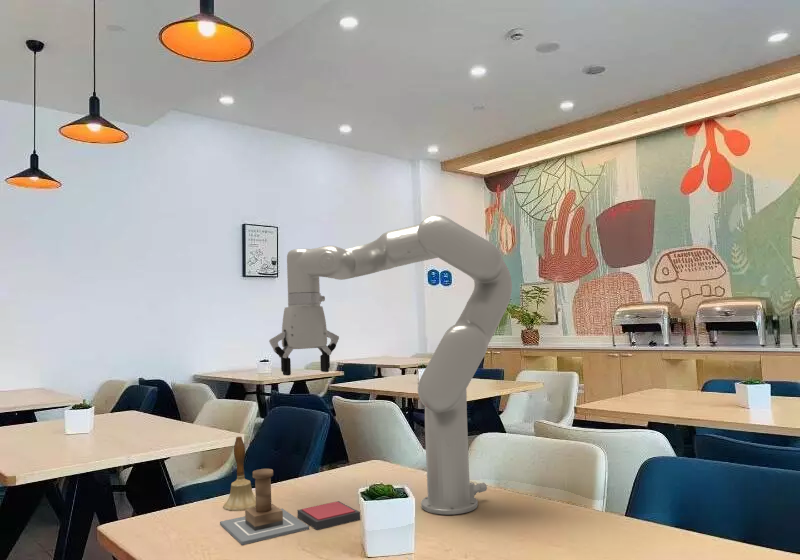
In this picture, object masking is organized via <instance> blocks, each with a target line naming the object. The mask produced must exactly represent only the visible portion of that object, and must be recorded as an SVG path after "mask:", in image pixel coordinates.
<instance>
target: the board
mask: <svg viewBox="0 0 800 560" xmlns="http://www.w3.org/2000/svg"><path fill="white" fill-rule="evenodd" d="M280 509H281V510H282V511H283V525H278V526H274V527H269V528H265V529H261V530H256V531H254V530H253V529H252V528H251V527H250V526H248V525H247V524H246V523H245V516H240V517H235V518H231V519H226V520H220V521H219V525H220V526H221V527H222V528H223V529H224V530H225V531H226V532H227V533H229V535H230V536H232V537H233V539H235V540H236V541H237V542H238V543H239V544H240V545H241V546H244V545H248V544H252V543H253V544H254V543H257V542H261V541H265V540H269V539H274V538H278V537H283V536H286V535H290V534H294V533H299V532H302V531H308V530H310V525H308V524H307V523H305V522H304V521H302V520H301V519H299V518H298V517H296V516H295V515H293V514H291V513H290V512H289V511H287V510H285V509H284V508H280Z"/></svg>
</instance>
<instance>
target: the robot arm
mask: <svg viewBox="0 0 800 560" xmlns="http://www.w3.org/2000/svg"><path fill="white" fill-rule="evenodd" d="M438 258H439V260H441V261H444V262H445V263H447V264H448V265H450V266H452V267H454V268H455V269H457V270H458V271H461V272H462V273H464V274H466V275H467V276H469V277H470V278H471V279H472V280H473V282H474V283H473V284H474V287H473V291H472V294H471V295H470V297H469V298H468V300H467V302H466V304H465V306H464V309H463V310H462V312H461V314H460V316H459V318H458V319H457V321H456V323H455V324H454V325H452V326H450V327H449V328H448V329H447V330H446V332H445V333H444V334H443V336H442V338H441V339H440V341H439V343H438V345H437V347H436V349H435V350H434V353H433V355H432V356H431V358H430V360H429V362H428V364H427V365H426V367H425V369H424V371H423V373H422V374H421V376H420V379H419V381H418V385H417V395H418V399H419V401H420V402H421V404H422V405H423V406H424V433H425V435H424V438H425V439H424V440H425V441H424V442H425V456H426V457H425V458H426V459H425V462H426V463H425V464H426V484H427V487H426V488H427V489H426V490H427V496H426V497H423V498H422V500H421V502H420V507H421V509H423V510H424V511H426V512H428V513H431V514H435V515H444V516H445V515H446V516H447V515H451V516H452V515H460V514H461V515H462V514H467V513H468V512H473V511H474V510H476V509H477V507H478V506H479V505H478V499H477V498H476V497H475V496H476V495H477V494H479V493H483V492H486V491H487V490H488V486H487V484H486V483H485V482H481V483H480V482H479V483H477V484H475V483H474V482H470V480H471V479H470V464H469V463H470V460H469V458H470V457H469V441H468V440H469V439H468V435H469V434H468V410H467V408H468V404H467V403H468V402H467V400H468V399H467V398H468V397H467V389H468V386H469V384H470V383H471V381H472V379H473V378H474V375H475V374H476V372H477V370H478V368H479V367H480V364H481V362H482V360H483V359H484V358H485V355H486V353H487V351H488V347H489V344H490V342H491V340H492V338H493V336H494V334H495V333H496V331H497V328H498V326H499V325H500V322H501V320H502V318H503V316H504V314H505V313H506V310H507V309H508V306H509V304H510V301H511V297H512V291H513V282H512V275H511V273H510V270H509V268H508V266H507V264H506V263H505V260H504V259H503V257H502V253H501V252H500V250H499V248H498V247H497V246H496V245H495V244H493V243H492V242H491V241H489V240H487V239H486V238H484V237H482V236H481V235H478V234H476V233H475V232H473V231H471V230H469V229H467V228H465V227H464V226H462V225H460V224H459V223H457V222H456V221H454V220H452V219H450V218H448V217H447V216H445V215H441V214H433V215H432V214H431V215H430V216H429V215H428V216H427V217H425V218H424V219H423V220H422V221H421V222H420V223H419V224H415V225H411V226H405V227H402V228H398V229H393V230H388V231H386V232H384V233H382V234H381V235H380V236H379V237H378V238H377V239H375V240H373V241H372V242H368V243H366V244H362V245H357V246H353V247H350V248H345V249H344V248H341V247H338V246H335V245H324V246H320V247H315V248H295V249H291V250H289V251H288V252H287V254H286V270H287V271H286V272H287V273H286V275H287V305H288V306H287V307H284V310H283V316H282V324H281V325H282V327H281V332H280V333H278V334H277V335H275V336H274V337H272V338H270V339H269V341H268V342H269V344H270V346H271V348H272V350H273V352H274V353H275V354H276V355H278V357H279V358H280V366H281V367H280V371H281V372H282V375H283V376H291V375H292V371H291V367H292V366H291V362H292V361H291V358H290V357H289V356H290V354H291V353H292V352H293V350H305V349H306V350H307V349H318V350H319V351H320V352H321V354H320V356H319V358H320V359H319V360H320V361H319V362H320V371H321V373H329V372H330V370H329V369H330V368H331V360H330V359H331V358H330V355H332V353H333V351H334V350H335V349H336V347H337V344H338V342H339V340H340V336H339V335H337V334H335V333H334V332H331V331H330V330H328V329H327V321H326V316H325V311H324V308H323V306H321V304H322V302H326V298H325V297H326V296H324V295H321V293H320V292H321V291H320V288H321V287H320V286H321V285H320V278H321V277H322V278H328V279H335V280H338V281H339V280H340V281H341V280H348V279H354V278H358V277H362V276H367V275H370V274H376V273H379V272H381V271H387V270H390V269H394V268H397V267H402V266H406V265H410V264H415V263H419V262H424V261H429V260H433V259H438ZM328 338H329V339H330V341H329V344H328ZM279 342H281V345H282V347H283V348H281V347H280V345H279ZM327 344H328V345H327Z"/></svg>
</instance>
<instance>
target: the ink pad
mask: <svg viewBox="0 0 800 560" xmlns="http://www.w3.org/2000/svg"><path fill="white" fill-rule="evenodd" d="M296 513H297V518H298V519H299V520H301V521H302V522H304V523H305V524H307V525H308V526H309V527H312V528H313V529H315V530H316V531H318V530H322V529H327V528H331V527H335V526H339V525H343V524H348V523H352V522H356V521H360V520H361V514H360V513H361V512H360V511H359V510H357V509H355V508H353V507H351V506H349V505H347V504H345V503H343V502H341V501H339V500H338V501H333V502H328V503H324V504H319V505H314V506H310V507H305V508H301V509H297V512H296Z"/></svg>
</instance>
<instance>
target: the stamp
mask: <svg viewBox="0 0 800 560" xmlns="http://www.w3.org/2000/svg"><path fill="white" fill-rule="evenodd" d="M273 476H274V470H273V469H272V468H261V469H259V468H258V469H256V470H255V469H254V470H253V471H252V478H253V479H254V484H255V485H254V487H255V497H256V507H254V508H250V509H245V510H244V513H245V514H244V515H245V523H246V524H247V525H248V526H250V527H251V528H252V529H253V530H254V531H256V530H261V529H265V528H269V527H274V526H278V525H283V511H282V510H281V509H282V508H279V507H278V506H276V505H275V504H273V503H272V481H271V480H272V477H273Z"/></svg>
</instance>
